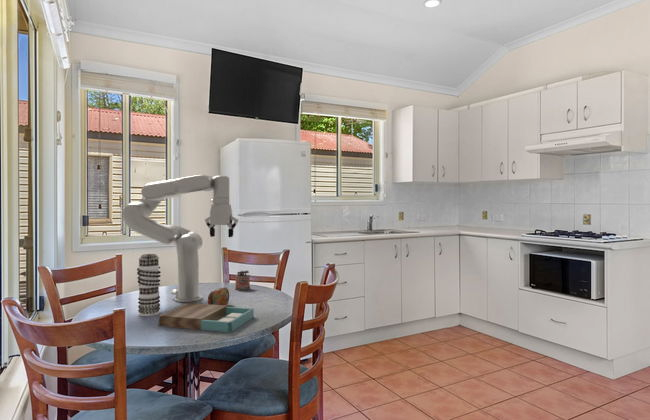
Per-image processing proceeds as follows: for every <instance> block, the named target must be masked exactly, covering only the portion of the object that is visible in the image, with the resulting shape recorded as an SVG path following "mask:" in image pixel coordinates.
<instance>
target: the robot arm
mask: <svg viewBox="0 0 650 420" xmlns="http://www.w3.org/2000/svg"><path fill="white" fill-rule="evenodd" d="M210 191H212V192H213V195H212V196H213V198H212V199H210V202H211V203H212V204H211V206H210V207H211V208H210V212H209V217H207V218H205V219H204V222H205V224H206V226H207V227H208V229H209V236H210V238H213V237H215V236H216V232H215V231H216V229H215V227H216V226H226V225H227V227H228V228H229V229H227V231H228V232H227V233H228V234H227V235H228V238H233V236H234V229H235V227H236V226H237V225H238V223H239V219H238V218H236V217H234V216H233V210H232V205H231V204H230V177H229V176H228V175H215V176H210V175H206V174H197V175H191V176H184V177H179V178H174V179H168V180H161V181H154V182H149V183H146V184H144V185H143V186H142V188H141V191H140V192H141V196H142V198H141V199H140V200H139V202H138V201H134V202H130V203H128V204H126V205H125V206H124V208H123V211H122V215H123V217H122V218H123V220H124V223H125V225H126V226H127V227H128V228H129V229H130V230H132V231H133V232H134V233H137V234H139V235H141V236H144V237H146V238H148V239H151V240H153V241H156V242H158V243H160V244H162V245H166V246H169V245H175V247H176V256H177V289H173V290H172V292H171V295H173V296H174V295H175V297H174V302H178V303H194V302H197V301H201V300H202V299H203V295H201V294H200V293H199V292H200V291H199V289H200V288H199V285H200V283H199V282H200V281H199V279H200V278H199V276H200V275H199V274H200V273H199V272H200V271H199V270H200V269H199V262H200V261H199V254H198V253H199V252H198V251H199V250H200V249H201V248H202V246H203V238H202V236H201V235H200V234H198V233H197V232H194V231H192V230H190V229H187V228H184V227H182V226H180V225H177V224H165V223H162V222H159V221H157V220H155V219H151V218H149V217H151V215H152V214H153V213H154V212H155V210H156V209H157V208H158V207H159V206H160V204H161V203H162V201H163V200H167V199H173V198H177V197H180V196H182V195H186V194H190V193H195V192H196V193H197V192H210Z"/></svg>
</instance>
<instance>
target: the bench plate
mask: <svg viewBox="0 0 650 420" xmlns="http://www.w3.org/2000/svg"><path fill="white" fill-rule="evenodd" d="M226 307H228V305H226V306H224V305H211V304H208V303H198V302H197V303H196V302H195V303H194V302H186V303H185V304H183V305H181V306H178V307H175V308H173V309H170V310H168V311H165V312H164V313H161V314H158V327H164V328H165V327H168V328H178V329H179V328H180V329H188V330H189V329H190V330H199V331H202V330H201V320H213V321H216V320H218V319H220V318H222V317H223V316H225V315H226Z"/></svg>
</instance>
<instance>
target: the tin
mask: <svg viewBox="0 0 650 420" xmlns="http://www.w3.org/2000/svg"><path fill="white" fill-rule="evenodd" d="M228 289H229V288H227V287H219V288H217V289H215V290H213V291H210V293H209V294H208V297H207V304H211V305H224V306H228V304H229V301H230V291H229V290H228Z"/></svg>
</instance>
